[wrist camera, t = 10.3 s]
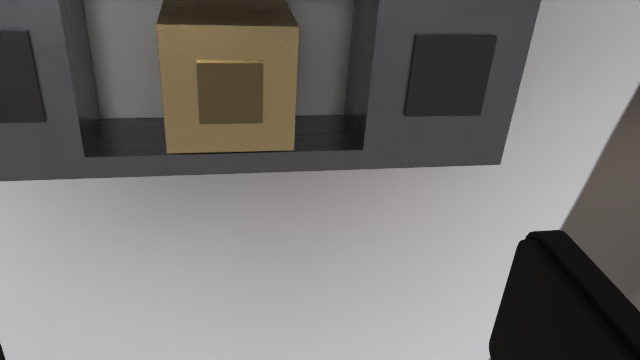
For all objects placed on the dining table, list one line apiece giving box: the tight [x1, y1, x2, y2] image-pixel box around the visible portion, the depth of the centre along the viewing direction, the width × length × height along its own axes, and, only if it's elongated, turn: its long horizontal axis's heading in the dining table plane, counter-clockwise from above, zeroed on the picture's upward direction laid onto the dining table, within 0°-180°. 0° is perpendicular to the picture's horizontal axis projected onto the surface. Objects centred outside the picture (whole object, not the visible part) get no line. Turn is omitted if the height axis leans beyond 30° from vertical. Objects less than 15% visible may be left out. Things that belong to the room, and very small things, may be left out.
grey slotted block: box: [0, 0, 541, 181], centre depth 24 cm, size 25×9×4 cm, turn 88°
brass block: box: [156, 0, 299, 153], centre depth 23 cm, size 5×5×6 cm
